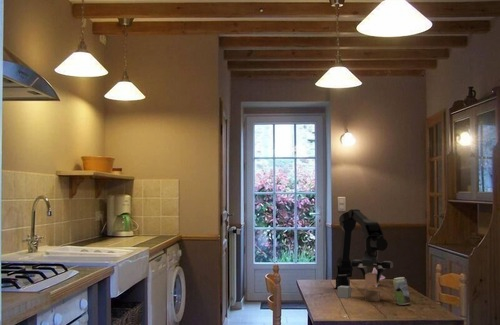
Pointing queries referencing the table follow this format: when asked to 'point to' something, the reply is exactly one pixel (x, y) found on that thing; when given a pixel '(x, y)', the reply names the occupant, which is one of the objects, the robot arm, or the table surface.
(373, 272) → the lily
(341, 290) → the slate-grey block
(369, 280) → the terracotta block
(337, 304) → the table surface
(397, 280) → the beverage can
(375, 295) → the walnut block
